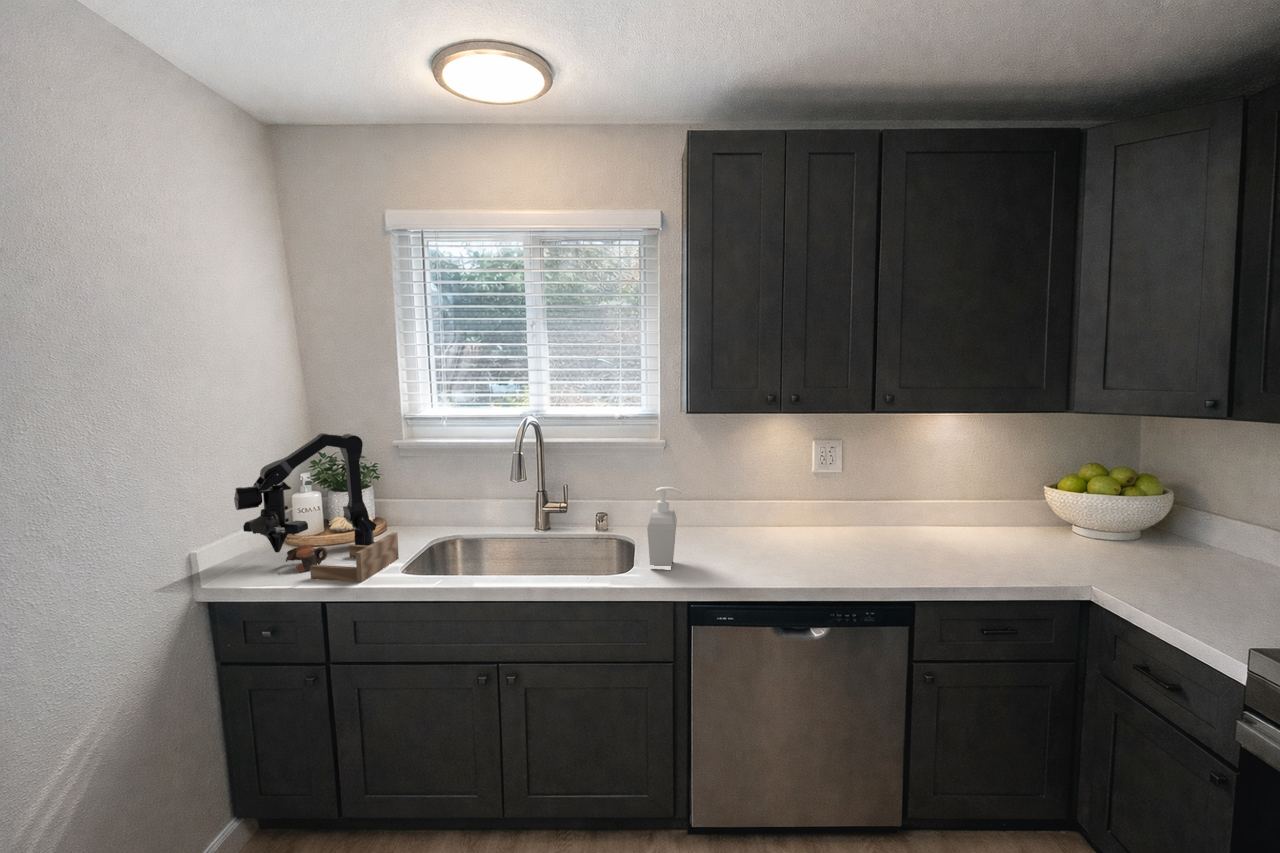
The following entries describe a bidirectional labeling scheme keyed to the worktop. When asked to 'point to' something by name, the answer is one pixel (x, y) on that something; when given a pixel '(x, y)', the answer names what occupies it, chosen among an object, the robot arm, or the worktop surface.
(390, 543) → the walnut bay
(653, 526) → the soap bottle
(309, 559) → the pottery mug
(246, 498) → the robot arm
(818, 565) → the worktop surface
